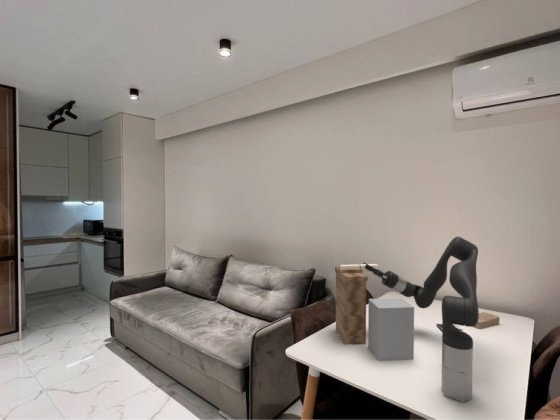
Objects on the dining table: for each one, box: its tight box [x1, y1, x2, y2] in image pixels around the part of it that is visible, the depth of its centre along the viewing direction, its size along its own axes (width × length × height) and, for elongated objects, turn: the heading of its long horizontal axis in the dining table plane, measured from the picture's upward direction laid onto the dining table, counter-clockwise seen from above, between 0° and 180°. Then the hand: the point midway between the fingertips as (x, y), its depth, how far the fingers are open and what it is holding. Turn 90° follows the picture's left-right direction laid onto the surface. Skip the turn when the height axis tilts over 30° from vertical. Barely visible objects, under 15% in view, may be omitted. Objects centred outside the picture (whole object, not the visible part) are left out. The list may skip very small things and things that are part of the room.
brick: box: [473, 311, 500, 330], centre depth 166 cm, size 16×8×5 cm, turn 113°
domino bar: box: [339, 263, 380, 273], centre depth 150 cm, size 18×3×3 cm, turn 95°
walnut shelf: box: [334, 266, 369, 345], centre depth 151 cm, size 10×20×34 cm, turn 4°
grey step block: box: [367, 297, 415, 362], centre depth 135 cm, size 15×12×22 cm
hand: (364, 265), depth 151 cm, fingers closed on domino bar, 3 cm apart
